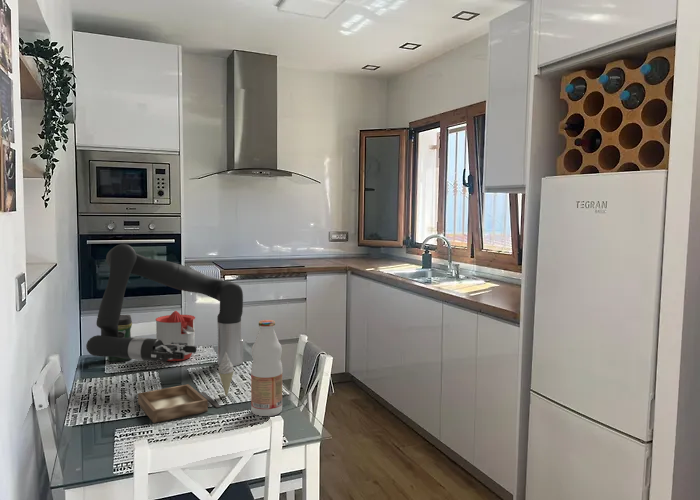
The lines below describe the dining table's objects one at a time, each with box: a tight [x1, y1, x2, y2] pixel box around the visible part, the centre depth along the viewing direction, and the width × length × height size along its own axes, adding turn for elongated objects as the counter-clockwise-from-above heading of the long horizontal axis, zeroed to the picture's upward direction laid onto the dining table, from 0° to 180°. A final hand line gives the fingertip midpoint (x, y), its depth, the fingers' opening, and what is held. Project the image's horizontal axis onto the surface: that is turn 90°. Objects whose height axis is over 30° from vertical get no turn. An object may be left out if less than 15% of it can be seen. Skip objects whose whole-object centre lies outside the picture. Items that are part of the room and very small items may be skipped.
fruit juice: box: [250, 319, 283, 417], centre depth 158 cm, size 9×9×28 cm
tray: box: [137, 383, 222, 424], centre depth 163 cm, size 21×18×4 cm
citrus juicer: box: [155, 310, 196, 362], centre depth 215 cm, size 16×17×20 cm
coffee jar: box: [106, 314, 133, 363], centre depth 213 cm, size 10×8×19 cm
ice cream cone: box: [218, 351, 235, 397], centre depth 172 cm, size 5×5×15 cm
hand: (190, 352), depth 174 cm, fingers open, 8 cm apart
